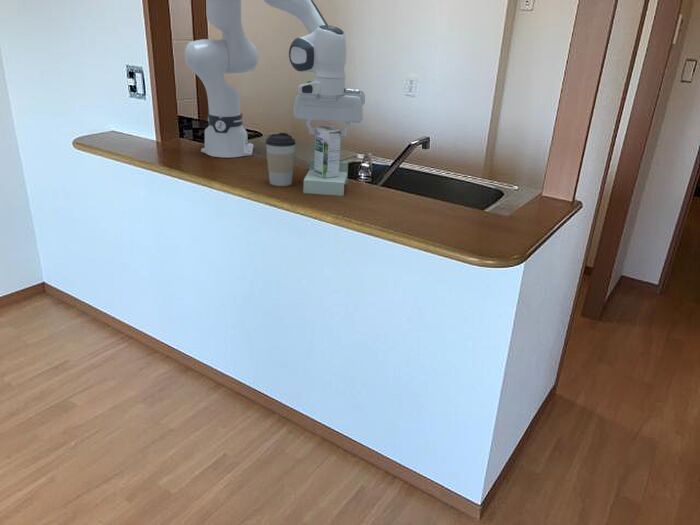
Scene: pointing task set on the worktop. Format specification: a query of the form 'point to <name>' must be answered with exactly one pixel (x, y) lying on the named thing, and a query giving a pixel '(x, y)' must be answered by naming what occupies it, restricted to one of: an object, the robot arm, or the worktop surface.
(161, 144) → the worktop surface
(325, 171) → the syrup box
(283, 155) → the coffee cup
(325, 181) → the shelf
